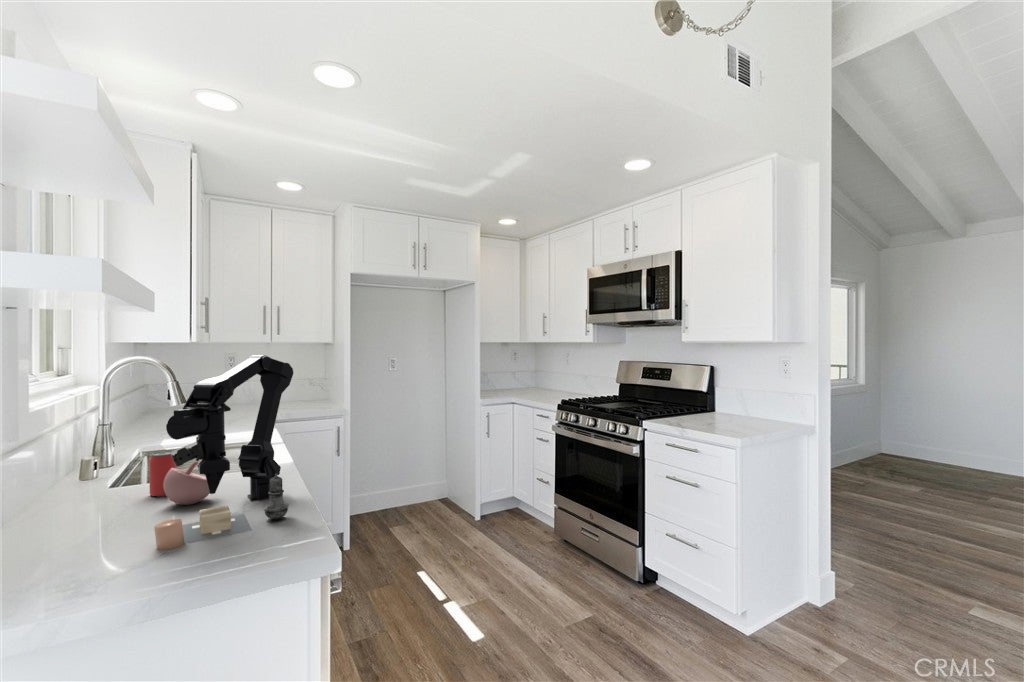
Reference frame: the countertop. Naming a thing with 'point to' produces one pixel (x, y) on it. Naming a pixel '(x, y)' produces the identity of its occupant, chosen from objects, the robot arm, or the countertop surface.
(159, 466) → the beer can
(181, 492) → the mortar and pestle
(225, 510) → the maple block
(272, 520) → the salt shaker
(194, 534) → the letter mat
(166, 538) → the terracotta cylinder
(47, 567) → the countertop surface
